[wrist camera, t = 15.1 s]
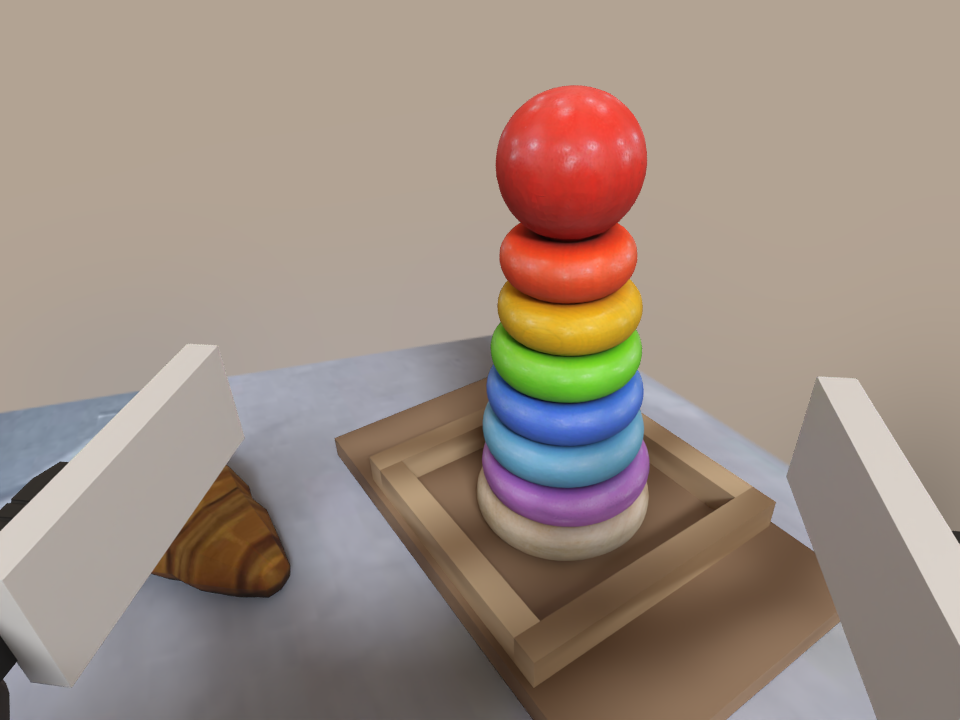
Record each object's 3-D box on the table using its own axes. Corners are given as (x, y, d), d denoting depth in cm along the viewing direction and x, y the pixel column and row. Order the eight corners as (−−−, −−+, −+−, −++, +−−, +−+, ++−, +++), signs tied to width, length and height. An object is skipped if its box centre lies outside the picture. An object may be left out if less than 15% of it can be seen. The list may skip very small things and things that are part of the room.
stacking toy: (475, 454, 34) (455, 70, 24) (625, 446, 34) (667, 61, 24) (480, 575, 28) (455, 115, 18) (666, 565, 28) (747, 102, 18)
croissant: (338, 544, 31) (320, 465, 29) (230, 657, 26) (197, 575, 24) (156, 460, 37) (127, 388, 35) (40, 540, 32) (-4, 464, 30)
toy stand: (338, 454, 36) (330, 416, 35) (535, 373, 43) (535, 338, 41) (608, 820, 21) (614, 778, 19) (857, 606, 27) (876, 562, 26)
